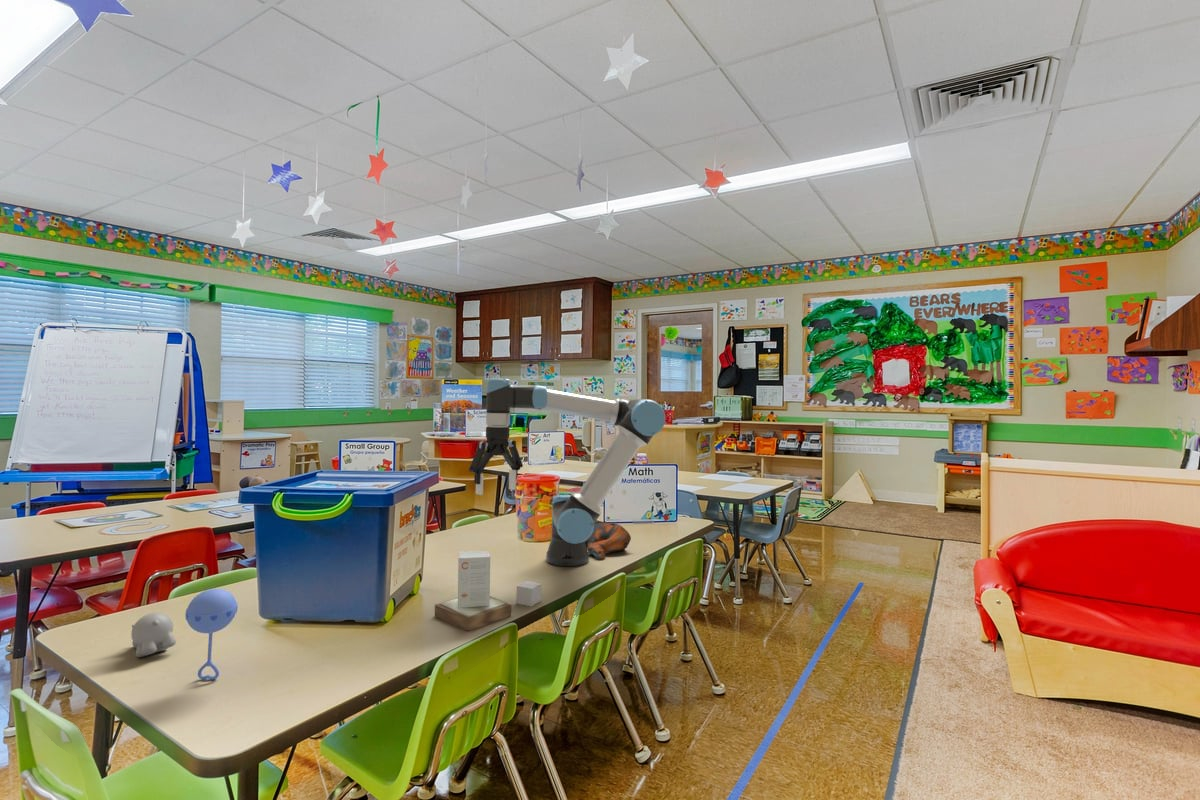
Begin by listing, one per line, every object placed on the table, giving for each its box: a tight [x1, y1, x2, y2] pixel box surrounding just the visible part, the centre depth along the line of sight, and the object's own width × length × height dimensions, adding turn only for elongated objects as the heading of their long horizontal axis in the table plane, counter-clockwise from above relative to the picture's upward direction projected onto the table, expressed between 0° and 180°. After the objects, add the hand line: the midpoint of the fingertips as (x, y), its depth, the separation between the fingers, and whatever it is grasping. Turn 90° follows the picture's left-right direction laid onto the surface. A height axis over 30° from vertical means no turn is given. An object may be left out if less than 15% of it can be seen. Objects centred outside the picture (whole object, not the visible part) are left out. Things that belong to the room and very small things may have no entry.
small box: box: [457, 550, 491, 608], centre depth 150 cm, size 8×6×13 cm
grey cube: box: [515, 580, 542, 607], centre depth 161 cm, size 5×5×5 cm
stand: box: [434, 595, 512, 632], centre depth 150 cm, size 14×14×3 cm
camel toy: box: [585, 519, 632, 560], centre depth 218 cm, size 25×13×17 cm
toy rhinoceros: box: [130, 612, 177, 658], centre depth 126 cm, size 7×12×8 cm, turn 56°
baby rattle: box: [184, 588, 239, 681], centre depth 114 cm, size 9×9×18 cm
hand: (496, 492), depth 184 cm, fingers open, 13 cm apart
